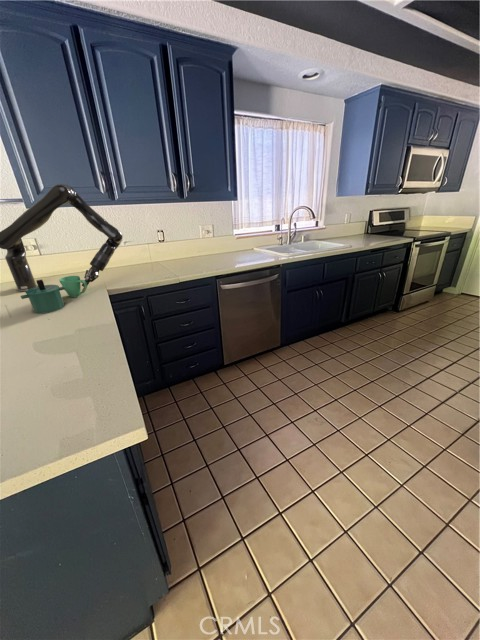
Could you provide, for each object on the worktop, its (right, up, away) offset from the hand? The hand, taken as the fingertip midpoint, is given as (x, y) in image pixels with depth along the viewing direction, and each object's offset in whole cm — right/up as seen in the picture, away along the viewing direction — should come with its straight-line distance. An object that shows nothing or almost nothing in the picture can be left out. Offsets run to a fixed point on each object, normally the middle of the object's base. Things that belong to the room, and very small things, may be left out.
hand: (83, 286), depth 148 cm
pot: (-8, -13, -16) cm, 22 cm away
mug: (-3, -5, 0) cm, 6 cm away
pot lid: (-8, -4, -20) cm, 22 cm away
